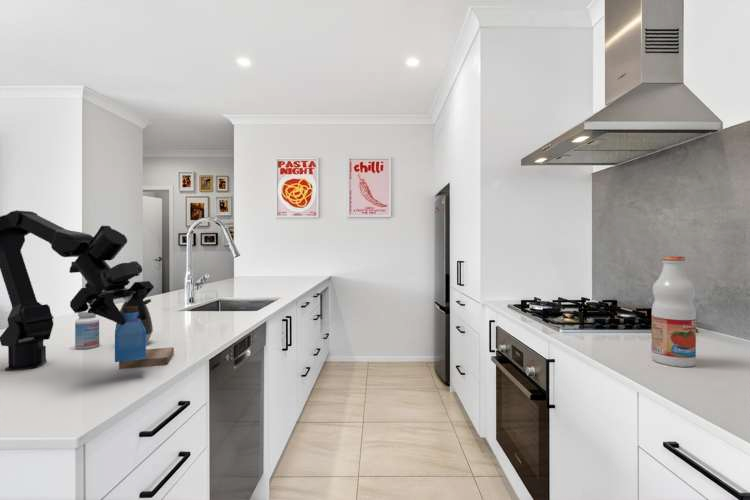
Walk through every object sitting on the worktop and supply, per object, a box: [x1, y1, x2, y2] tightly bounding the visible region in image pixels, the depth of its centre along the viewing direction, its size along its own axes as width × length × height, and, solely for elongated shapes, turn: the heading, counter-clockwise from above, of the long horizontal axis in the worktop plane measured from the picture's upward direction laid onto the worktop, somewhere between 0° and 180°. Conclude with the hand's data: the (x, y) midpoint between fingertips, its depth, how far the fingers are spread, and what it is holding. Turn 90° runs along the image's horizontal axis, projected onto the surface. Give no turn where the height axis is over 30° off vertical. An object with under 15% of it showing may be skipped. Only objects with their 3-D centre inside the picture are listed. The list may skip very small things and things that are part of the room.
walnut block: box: [118, 346, 175, 370], centre depth 109 cm, size 11×11×2 cm
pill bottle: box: [74, 309, 100, 350], centre depth 124 cm, size 6×6×11 cm
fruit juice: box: [650, 255, 697, 368], centre depth 106 cm, size 9×9×28 cm
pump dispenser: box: [115, 298, 154, 343], centre depth 127 cm, size 10×10×15 cm
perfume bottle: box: [114, 306, 147, 363], centre depth 96 cm, size 6×6×12 cm
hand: (135, 321), depth 96 cm, fingers closed on perfume bottle, 6 cm apart
